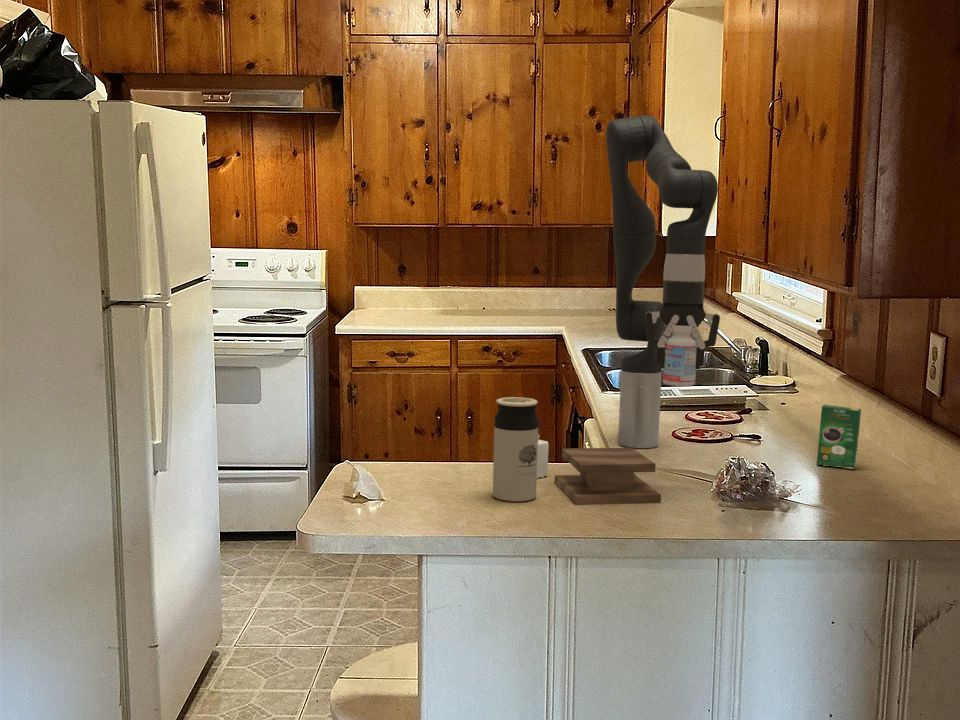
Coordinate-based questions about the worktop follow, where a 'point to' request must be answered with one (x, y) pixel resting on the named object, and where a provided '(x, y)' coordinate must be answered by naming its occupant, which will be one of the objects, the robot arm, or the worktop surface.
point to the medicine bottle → (542, 456)
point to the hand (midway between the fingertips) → (679, 367)
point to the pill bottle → (680, 357)
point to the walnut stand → (607, 476)
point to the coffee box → (838, 436)
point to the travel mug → (515, 450)
